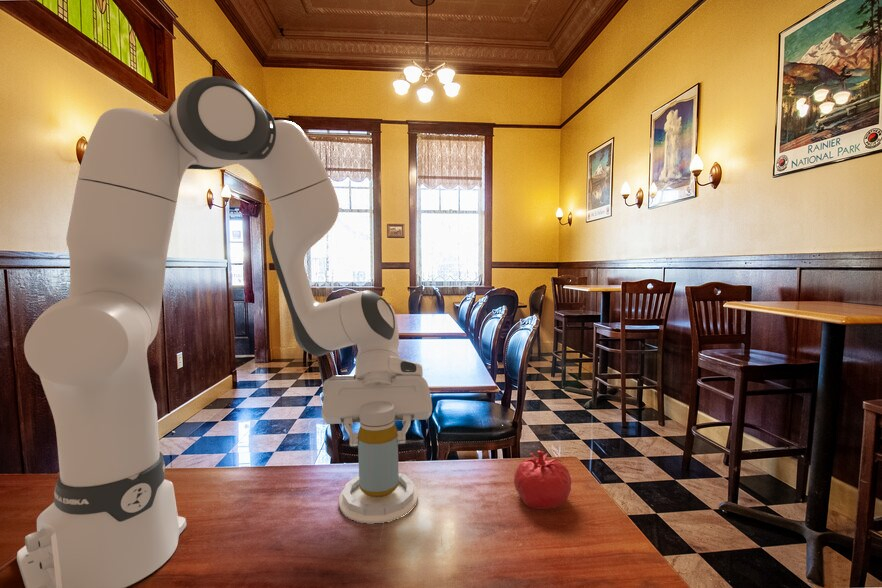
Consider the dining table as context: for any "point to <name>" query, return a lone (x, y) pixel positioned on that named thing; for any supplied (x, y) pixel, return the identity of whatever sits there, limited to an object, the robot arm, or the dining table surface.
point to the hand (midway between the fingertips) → (377, 443)
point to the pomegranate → (542, 482)
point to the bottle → (378, 449)
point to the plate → (377, 502)
